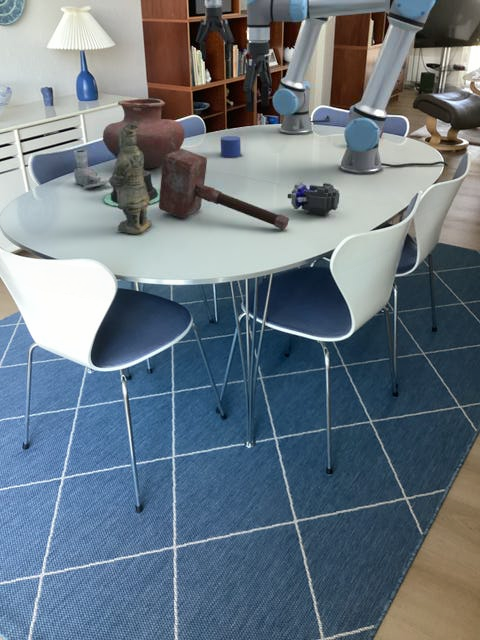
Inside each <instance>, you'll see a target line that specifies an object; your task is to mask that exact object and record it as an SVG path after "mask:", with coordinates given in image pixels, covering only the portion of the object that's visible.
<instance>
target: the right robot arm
mask: <svg viewBox="0 0 480 640" xmlns="http://www.w3.org/2000/svg"><path fill="white" fill-rule="evenodd" d="M435 3H436V0H246V31H245V33H246V40H247V41H248V42H247V43H246V54H247V55H249V56H250V57H251V58H247V59H246V68H245V75H244V81H243V87H242V90H243V92H245V101H246V102H245V111H246V112H248V113H255V91H254V89H255V85H256V82H257V78H258V75H259V78H260V81H261V84H262V85H261V86H260V88H261V89H260V99H261V100H260V104H261V106H269V105H270V86H271V87H272V85H273V82H272V81H273V80H272V74H271V67H270V57H269V54H270V42H269V41H270V40H271V22H282V23H284V22H285V23H289V22H291V23H299V22H302V21H304V20H305V19H309V18H319V17H329V18H331V17H339V16H349V15H351V16H352V15H359V14H370V13H382V12H383V13H384V12H386V13H387V16H386V17H387V20H388V23H389V25H388V28H387V30H386V34H385V36H384V39H383V41H382V45H381V47H380V50H379V52H378V54H377V56H376V57H377V58H376V60H375V62H374V65H373V68H372V71H371V73H370V76H369V78H368V81H367V84H366V87H365V89H364V91H363V95H362V97H361V100H360V101H359V102H357V103H355V104H354V105H351V106H350V107H349V112H348V122H347V125H346V126H345V128H344V132H343V135H344V136H343V137H344V140H345V143H346V149H345V151H344V154H343V156H342V158H341V162H340V170H341V171H343V172H345V173H349V174H355V175H356V174H357V175H369V174H370V175H371V174H376V173H378V172H380V171H382V166H383V167H389V168H402V167H410V166H412V167H413V166H415V167H417V166H421V167H422V166H423V167H427V166H436V165H437V166H438V165H444V166H445V167H449V164H448V163H447V162H445V161H443V160H440V161H435V162H408V163H399V164H392V163H391V164H390V163H385V162H382V161H381V155H380V150H379V147H380V145H379V144H380V139H381V138H380V133H381V130H382V131H383V128H384V126H385V123H386V120H387V118H388V113H387V112H386V108H387V105H388V103H389V101H390V99H391V95H392V93H393V91H394V89H395V86H396V84H397V81H398V78H399V76H400V74H401V71H402V68H403V66H404V63H405V60H406V58H407V56H408V54H409V51H410V49H411V46H412V44H413V41H414V38H415V36H416V34H417V33H418V32H419V31H421V30H423V29H424V27H425V24H426V22H427V19H428V17H429V15H430V12H431V10H432V8H433V7H434V6H435Z"/></svg>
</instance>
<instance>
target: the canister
mask: <svg viewBox="0 0 480 640" xmlns="http://www.w3.org/2000/svg"><path fill="white" fill-rule="evenodd" d="M219 141H220V157H221V158H225V159H234V158H240V157H241V155H242V154H241V153H242V152H241V151H242V150H241V149H242V146H241V143H242V142H241V137H240V136H237V135H225V136H221V137H220V140H219Z"/></svg>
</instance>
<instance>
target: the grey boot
mask: <svg viewBox="0 0 480 640" xmlns="http://www.w3.org/2000/svg"><path fill="white" fill-rule="evenodd" d="M73 152H74V158H75V160H76V166H77V168H74V170H73V171H74V174H73V175H74V179H75V180H74V181H75V183H76V184H78V185H81V186H83V187H82V188H83V189H88V188H95V187H98V186H103V185H106V184H110V183H109V179H107V180H102V177H101V176H99V175H98V171H96V170H93V169H90V168H89V163H88V158H89V157H88V151H87V149H84V148H83V149H82V148H80V149H75V150H74V151H73Z"/></svg>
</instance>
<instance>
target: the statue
mask: <svg viewBox="0 0 480 640" xmlns="http://www.w3.org/2000/svg"><path fill="white" fill-rule="evenodd" d="M138 127H139V123H138V122H137V121H133V122H131V123H128V124H127V125H126V126H125V127H124V128H123V129H121V130H120V133H119V138H118V140H119V147H120V151H119V154H118V156H117V158H116V160H115V164H114V169H113V172H114V175H113V176H112V175H111V176H110V177H109V179H108V180H109V183H108V184H110V186H111V187H112V188H113V187H114V188H115V189H116V192H117V202H118V206H117V209H119V210H122V213H123V214H124V215H125V218H126V219H125V220H122V221H120V222H119V224H118V225H117V231H118V232H121V233H126V234H134V235H136V234H142V233H143V232H145V231H146V230H147V229H148V228H150V227H151V226H152V225H153V223H152V220H150V219H148V216H147V214H148V213H147V212H148V211H147V209H148V206H149V205H150V197H149V195H148V192H147V188H146V184H145V182H144V178H143V169H144V168H143V166H144V156H143V153H142V151H141V150H139V149H138V147H137V146H136V143H137V138H136V131H137V130H138Z"/></svg>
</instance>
